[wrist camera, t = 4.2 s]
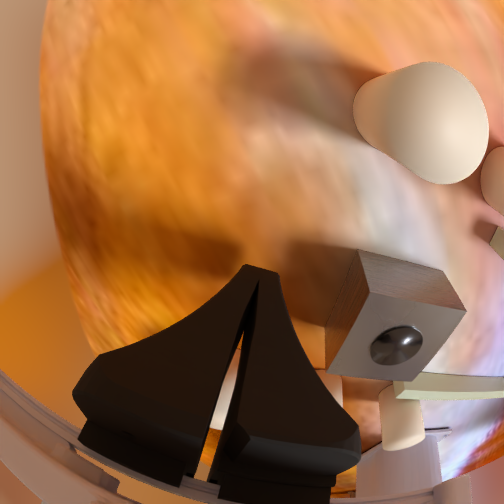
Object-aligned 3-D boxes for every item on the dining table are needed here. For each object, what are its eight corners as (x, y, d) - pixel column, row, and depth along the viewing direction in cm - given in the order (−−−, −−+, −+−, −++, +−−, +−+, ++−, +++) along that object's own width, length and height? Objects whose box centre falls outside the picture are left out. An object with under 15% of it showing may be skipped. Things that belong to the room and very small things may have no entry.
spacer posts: (401, 403, 16) (407, 449, 12) (206, 367, 16) (187, 420, 13) (549, 186, 7) (598, 221, 3) (276, 40, 7) (258, -1, 4)
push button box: (400, 337, 13) (412, 383, 10) (324, 324, 13) (325, 375, 10) (441, 268, 10) (467, 313, 8) (356, 246, 11) (370, 294, 8)
